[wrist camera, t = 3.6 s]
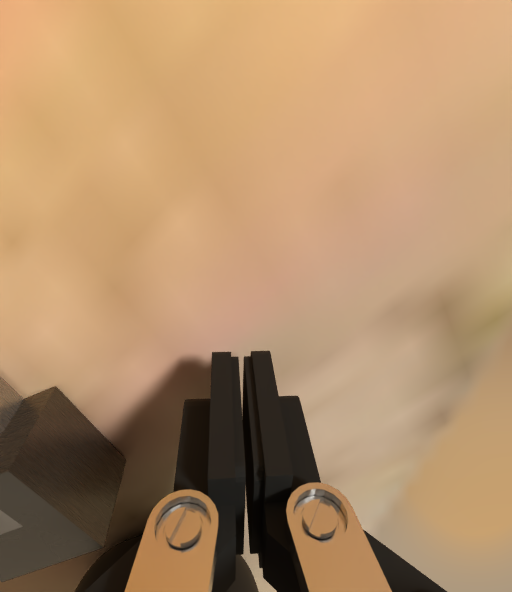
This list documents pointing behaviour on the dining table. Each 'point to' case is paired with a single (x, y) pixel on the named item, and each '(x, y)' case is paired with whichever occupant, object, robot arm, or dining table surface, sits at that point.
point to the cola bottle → (241, 588)
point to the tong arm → (52, 482)
